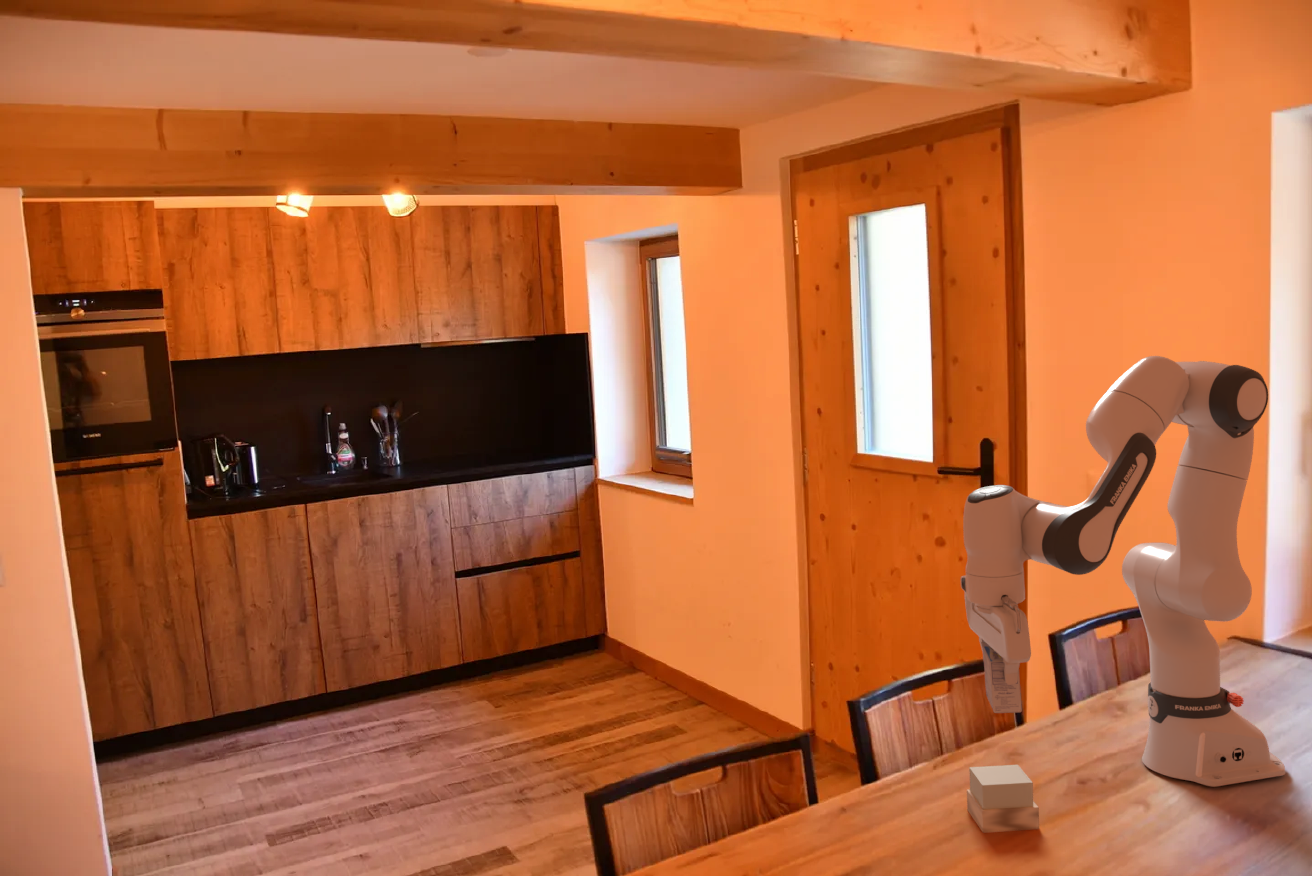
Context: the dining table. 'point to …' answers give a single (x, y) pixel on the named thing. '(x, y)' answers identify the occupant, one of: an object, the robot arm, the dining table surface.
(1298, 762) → the dining table surface
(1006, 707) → the medicine box
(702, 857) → the dining table surface
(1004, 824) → the tower base
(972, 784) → the tower top
